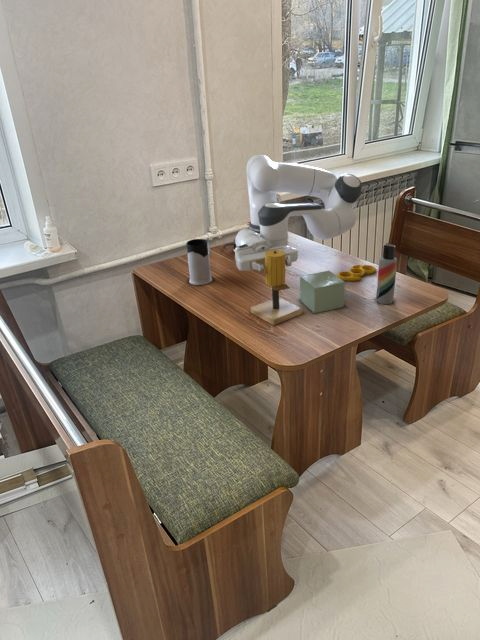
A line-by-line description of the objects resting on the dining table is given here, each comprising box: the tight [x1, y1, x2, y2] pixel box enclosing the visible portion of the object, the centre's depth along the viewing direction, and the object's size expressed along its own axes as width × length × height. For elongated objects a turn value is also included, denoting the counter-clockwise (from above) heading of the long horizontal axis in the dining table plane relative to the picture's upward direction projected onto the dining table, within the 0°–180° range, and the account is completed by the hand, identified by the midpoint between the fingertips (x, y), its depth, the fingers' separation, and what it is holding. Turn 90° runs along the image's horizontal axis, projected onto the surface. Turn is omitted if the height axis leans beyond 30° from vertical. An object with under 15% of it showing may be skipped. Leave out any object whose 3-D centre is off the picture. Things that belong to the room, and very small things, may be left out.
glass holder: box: [186, 238, 213, 286], centre depth 200 cm, size 9×14×15 cm, turn 159°
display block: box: [299, 270, 346, 314], centre depth 178 cm, size 11×11×9 cm
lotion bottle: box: [375, 242, 398, 305], centre depth 175 cm, size 6×6×20 cm
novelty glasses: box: [336, 264, 377, 282], centre depth 200 cm, size 17×2×10 cm
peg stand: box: [250, 287, 303, 326], centre depth 170 cm, size 12×12×20 cm
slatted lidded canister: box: [264, 250, 291, 292], centre depth 166 cm, size 9×6×11 cm
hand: (275, 266), depth 166 cm, fingers open, 8 cm apart
